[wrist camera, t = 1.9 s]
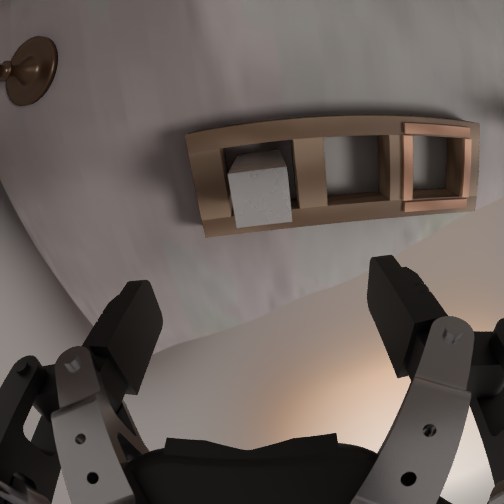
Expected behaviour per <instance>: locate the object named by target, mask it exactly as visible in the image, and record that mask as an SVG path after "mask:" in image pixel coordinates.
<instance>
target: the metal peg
mask: <svg viewBox="0 0 504 504" xmlns="http://www.w3.org/2000/svg"><path fill="white" fill-rule="evenodd" d="M228 179H229V185H230V191H231V197H232V203H233V209H234V215H235V220H236V226H237V228H241V227H250V226H258V225H267V224H276V223H285V222H292V213H291V202H290V192H289V182H288V173H287V166H286V164H285V162H284V160H283V158H282V155H281V153H280V151H279V150H272V151H263V152H255V153H247V154H240V155H237V157H236V159H235V161H234V163H233V165H232V167H231V169H230V171H229V172H228Z"/></svg>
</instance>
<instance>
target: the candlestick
mask: <svg viewBox="0 0 504 504" xmlns="http://www.w3.org/2000/svg"><path fill="white" fill-rule="evenodd" d="M57 64H58V52H57V48H56V45H55V44H54V42H53V41H52V40H51V39H49V38H47V37H41V36H37V37H33V38H30V39H28V40H27V41H26V42H24V43H23V44H22V45H21V46H20V47H19V48H18V50H17V51H16V52H15V54H14V56H13V58H12V60H11V61H5V62H3V63H2V65H0V81H6V89H7V93H8V96H9V98H10V100H11V101H12V102H13V103H15V104H16V105H19V106H25V105H30V104H33V103H35V102H37V101H38V100H39V99H40V98H41V97H43V95H44V94H45V93H46V92H47V90H48V89H49V87H50V85H51V83H52V81H53V79H54V76H55V73H56V69H57Z"/></svg>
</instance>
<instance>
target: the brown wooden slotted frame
mask: <svg viewBox="0 0 504 504" xmlns="http://www.w3.org/2000/svg"><path fill="white" fill-rule="evenodd" d="M358 135H378V155H379V192H370V193H357V194H344V195H333V196H327V186H326V171H325V158H324V146H323V137H334V136H358ZM413 135H416V136H439V137H447V170H446V189H422V190H413ZM185 139H186V144H187V149H188V155H189V160H190V165H191V170H192V175H193V180H194V185H195V190H196V195H197V200H198V205H199V210H200V214H201V219H202V224H203V228H204V233H205V237H206V238H207V237H215V236H223V235H231V234H240V233H248V232H257V231H266V230H275V229H284V228H293V227H302V226H312V225H321V224H331V223H341V222H351V221H361V220H372V219H383V218H394V217H405V216H417V215H429V214H441V213H454V212H467V211H475V206H476V197H477V187H478V175H479V154H480V124H479V123H474V122H469V121H463V120H454V119H445V118H434V117H421V116H402V115H333V116H313V117H299V118H288V119H277V120H268V121H260V122H252V123H244V124H237V125H231V126H224V127H218V128H212V129H207V130H201V131H196V132H192V133H189V134H186V135H185ZM282 140H290V142H291V151H292V160H293V170H294V179H295V190H296V199H291V200H290V202H291V213H292V222H285V223H276V224H267V225H258V226H250V227H241V228H237V226H236V220H235V215H234V209H233V203H232V197H231V191H230V185H229V179H228V169H227V163H226V157H225V151H224V148H227V147H234V146H241V145H248V144H256V143H264V142H273V141H282Z"/></svg>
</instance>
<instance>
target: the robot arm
mask: <svg viewBox="0 0 504 504" xmlns="http://www.w3.org/2000/svg"><path fill="white" fill-rule="evenodd" d="M367 302H368V307H369V311H370V313H371V315H372V317H373V320H374V322H375V324H376V327H377V329H378V331H379V334H380V336H381V338H382V341H383V343H384V346H385V348H386V350H387V353H388V355H389V358H390V360H391V363H392V365H393V368H394V370H395V373H396V375H397V378H401V377H405V376H409V377H410V379H411V383H410V386H409V388H408V391H407V393H406V396H405V398H404V400H403V403H402V405H401V407H400V409H399V412H398V414H397V416H396V418H395V420H394V422H393V425H392V426H391V429H390V431H389V433H388V434H387V436H386V439H385V440H384V442H383V444H382V446H381V448H380V449H379V451H378V453H375V452H373V451H371V450H368V449H366V448H363V447H359V446H355V445H350V444H342V443H338V441H337V435H336V433H333V434H327V435H319V436H311V437H302V438H293V439H290V440H286V441H283V442H279V443H276V444H272V445H269V446H265V447H261V448H257V449H253V450H241V449H237V448H233V447H229V446H224V445H220V444H216V443H212V442H209V441H205V440H188V439H175V438H167V439H166V444H165V448H162V449H157V450H153V451H149V450H148V448H147V447H146V446H145V445H144V443H143V441H142V439H141V437H140V435H139V432H138V430H137V428H136V426H135V424H134V422H133V420H132V417H131V415H130V413H129V410H128V408H127V406H126V404H125V402H124V401H123V397H124V395H125V394H132V395H137V394H138V392H139V389H140V386H141V383H142V380H143V378H144V375H145V372H146V369H147V367H148V364H149V361H150V359H151V356H152V353H153V351H154V348H155V345H156V343H157V340H158V337H159V335H160V332H161V330H162V326H163V318H162V313H161V310H160V308H159V305H158V302H157V300H156V297H155V294H154V292H153V289H152V286H151V284H150V282H149V281H148V280H139V281H129V282H127V284H126V285H125V287H124V288H123V290H122V291H121V293H120V294H119V295H117V296H116V297H115V298H114V299H113V300H112V301H110V302H109V303H108V305H107V306H106V308H105V309H104V311H103V314H101V316H100V317H99V319H98V322H96V323H95V325H94V327H93V328H92V330H91V332H90V333H89V335H88V337H87V338H86V340H85V342H84V343H83V345H82V346H76V347H72V348H70V349H68V350H66V351H65V352H63V353H62V354H61V355H60V356H59V358H58V359H57V361H56V363H55V364H53V365H48V366H42V365H41V364H40V362H39V361H38V359H37V358H36V357H34V356H25V357H23V358H21V359H20V360H18V361H17V362H16V363H15V364H14V366H13V367H12V369H11V370H10V372H9V374H8V375H7V377H6V379H5V380H4V382H3V384H2V386H1V388H0V504H51V503H52V499H53V495H54V491H55V488H56V484H57V480H58V477H59V473H60V469H62V473H63V477H64V480H65V484H66V487H67V490H68V493H69V497H70V500H71V503H72V504H452V503H450V502H448V501H447V500H445V499H444V498H442V497H440V494H441V491H442V489H443V486H444V484H445V482H446V479H447V477H448V474H449V472H450V469H451V466H452V463H453V461H454V458H455V455H456V452H457V449H458V446H459V442H460V439H461V436H462V432H463V429H464V425H465V421H466V417H467V413H468V409H469V405H470V407H471V410H472V412H473V415H474V418H475V421H476V424H477V426H478V429H479V432H480V435H481V438H482V441H483V444H484V448H485V451H486V454H487V457H488V461H489V464H490V468H491V472H492V476H493V480H494V484H495V487H494V488H493V490H492V492H491V495H490V498H489V501H488V503H487V504H504V318H503V319H500V320H499V321H498V322H497V324H496V327H495V329H494V331H493V332H474V331H473V330H472V328H471V326H470V325H469V324H468V323H467V322H465V321H464V320H462V319H460V318H457V317H453V316H448V315H447V314H446V313H445V311H444V310H443V308H442V307H441V305H440V304H439V303H438V301H437V300H436V298H435V297H434V295H433V294H432V293H431V292H429V289H428V287H427V286H426V285H425V284H424V282H423V281H422V279H421V278H420V277H419V276H418V274H417V273H415V272H414V271H412V270H411V269H409V268H407V267H401V266H400V264H399V263H398V262H397V261H396V259H395V258H394V257H393V256H392V255H386V256H378V257H372V258H371V260H370V267H369V279H368V291H367ZM32 405H33V406H34V407H35V408H36V409H37V411H38V412H39V413H40V414H41V415H42V416H41V418H40V421H39V423H38V425H37V428H36V430H35V433H34V435H33V438H32V440H31V442H30V441H29V440H28V439H27V438H26V437H25V435H24V433H23V425H24V423H25V420H26V418H27V416H28V413H29V411H30V409H31V407H32Z"/></svg>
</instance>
